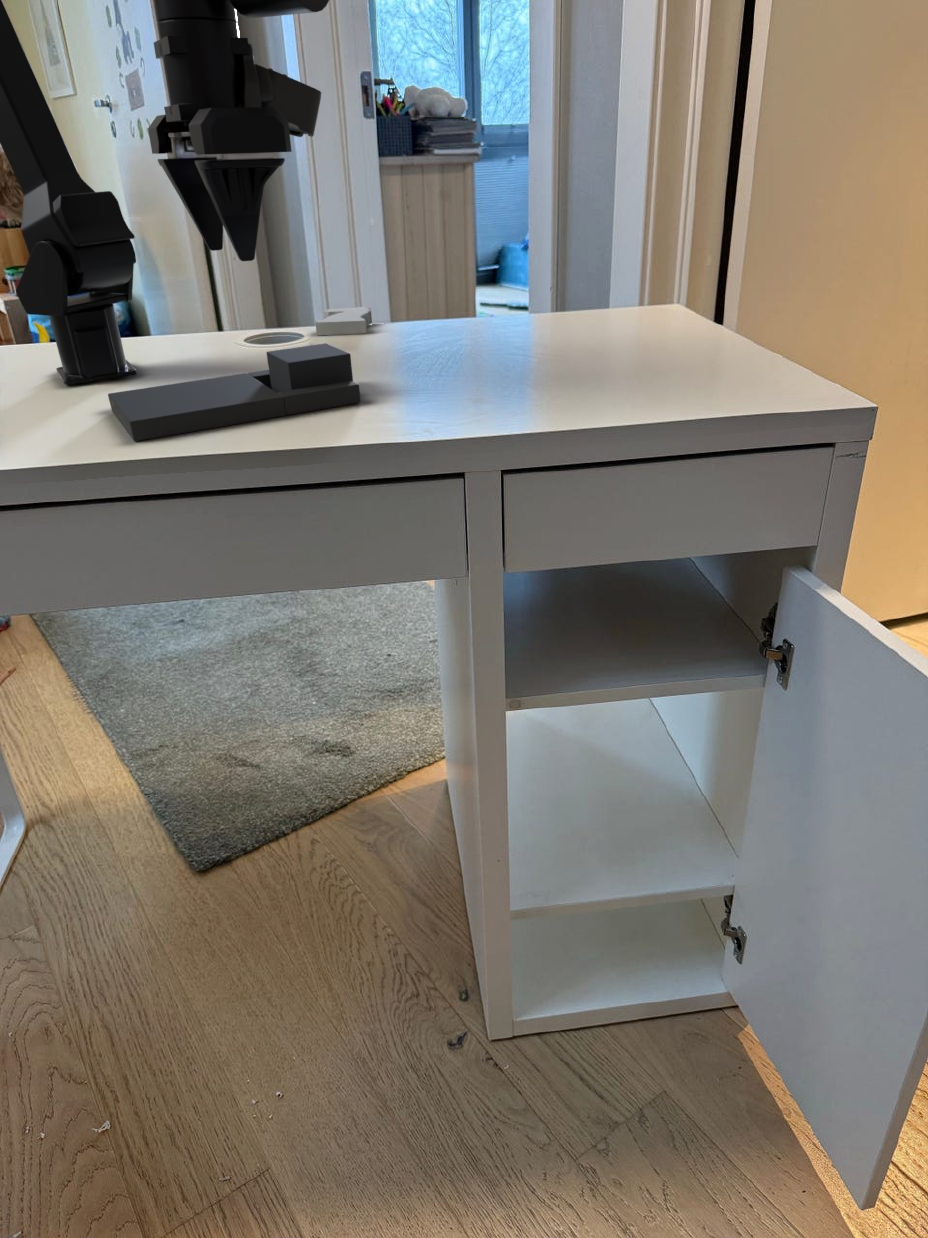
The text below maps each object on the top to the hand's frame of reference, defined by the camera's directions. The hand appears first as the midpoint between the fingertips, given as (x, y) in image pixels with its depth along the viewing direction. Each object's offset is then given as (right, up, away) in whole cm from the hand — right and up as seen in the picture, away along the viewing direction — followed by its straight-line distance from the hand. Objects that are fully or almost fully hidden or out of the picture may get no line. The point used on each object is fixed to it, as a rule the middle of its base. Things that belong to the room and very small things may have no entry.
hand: (230, 255), depth 70 cm
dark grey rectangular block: (+6, -11, +3) cm, 13 cm away
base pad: (0, -12, 0) cm, 12 cm away
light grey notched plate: (+8, +5, +30) cm, 32 cm away
